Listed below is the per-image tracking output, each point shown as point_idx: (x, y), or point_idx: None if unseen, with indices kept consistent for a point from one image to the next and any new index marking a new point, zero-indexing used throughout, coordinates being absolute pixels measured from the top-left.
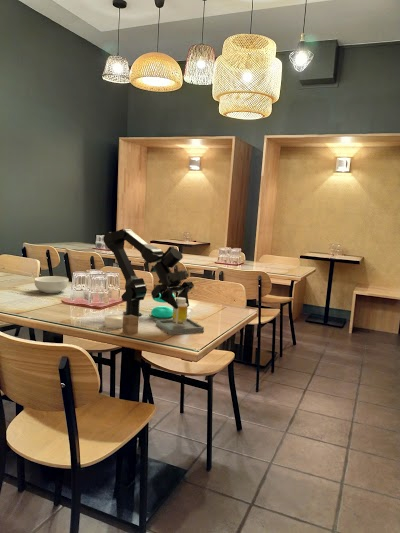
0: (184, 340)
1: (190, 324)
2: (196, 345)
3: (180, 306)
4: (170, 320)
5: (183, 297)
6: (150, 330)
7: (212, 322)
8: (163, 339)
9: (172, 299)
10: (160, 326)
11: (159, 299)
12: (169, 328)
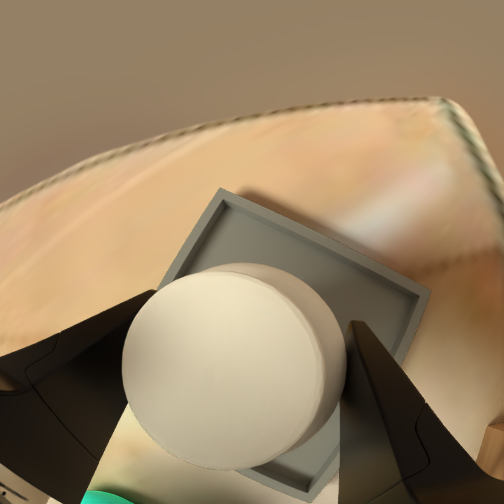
0: (419, 185)
1: None
2: (415, 122)
3: (324, 303)
4: None
5: (82, 403)
6: None
7: (53, 274)
8: (482, 264)
9: (430, 413)
10: None
11: None
12: (411, 318)
